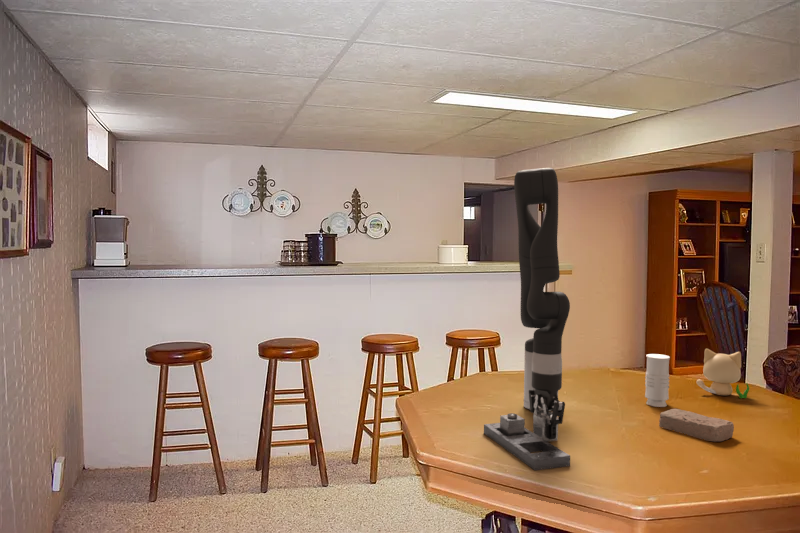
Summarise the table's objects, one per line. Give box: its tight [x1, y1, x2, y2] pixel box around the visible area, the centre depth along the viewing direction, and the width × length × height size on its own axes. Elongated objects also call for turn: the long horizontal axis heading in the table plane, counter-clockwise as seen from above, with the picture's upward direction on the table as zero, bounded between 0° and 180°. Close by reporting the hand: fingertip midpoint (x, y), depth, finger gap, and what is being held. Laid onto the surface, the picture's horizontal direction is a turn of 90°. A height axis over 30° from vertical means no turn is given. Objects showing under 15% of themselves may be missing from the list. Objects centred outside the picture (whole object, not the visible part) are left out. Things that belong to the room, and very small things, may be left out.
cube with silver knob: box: [532, 412, 559, 443], centre depth 156 cm, size 4×4×7 cm
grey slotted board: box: [483, 422, 571, 471], centre depth 149 cm, size 9×26×2 cm, turn 18°
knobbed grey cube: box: [499, 412, 526, 436], centre depth 155 cm, size 4×4×7 cm
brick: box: [658, 408, 735, 443], centre depth 162 cm, size 17×8×5 cm, turn 35°
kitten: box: [696, 348, 750, 399], centre depth 200 cm, size 15×10×15 cm
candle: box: [644, 353, 671, 408], centre depth 188 cm, size 7×7×15 cm
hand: (545, 434), depth 156 cm, fingers open, 5 cm apart
